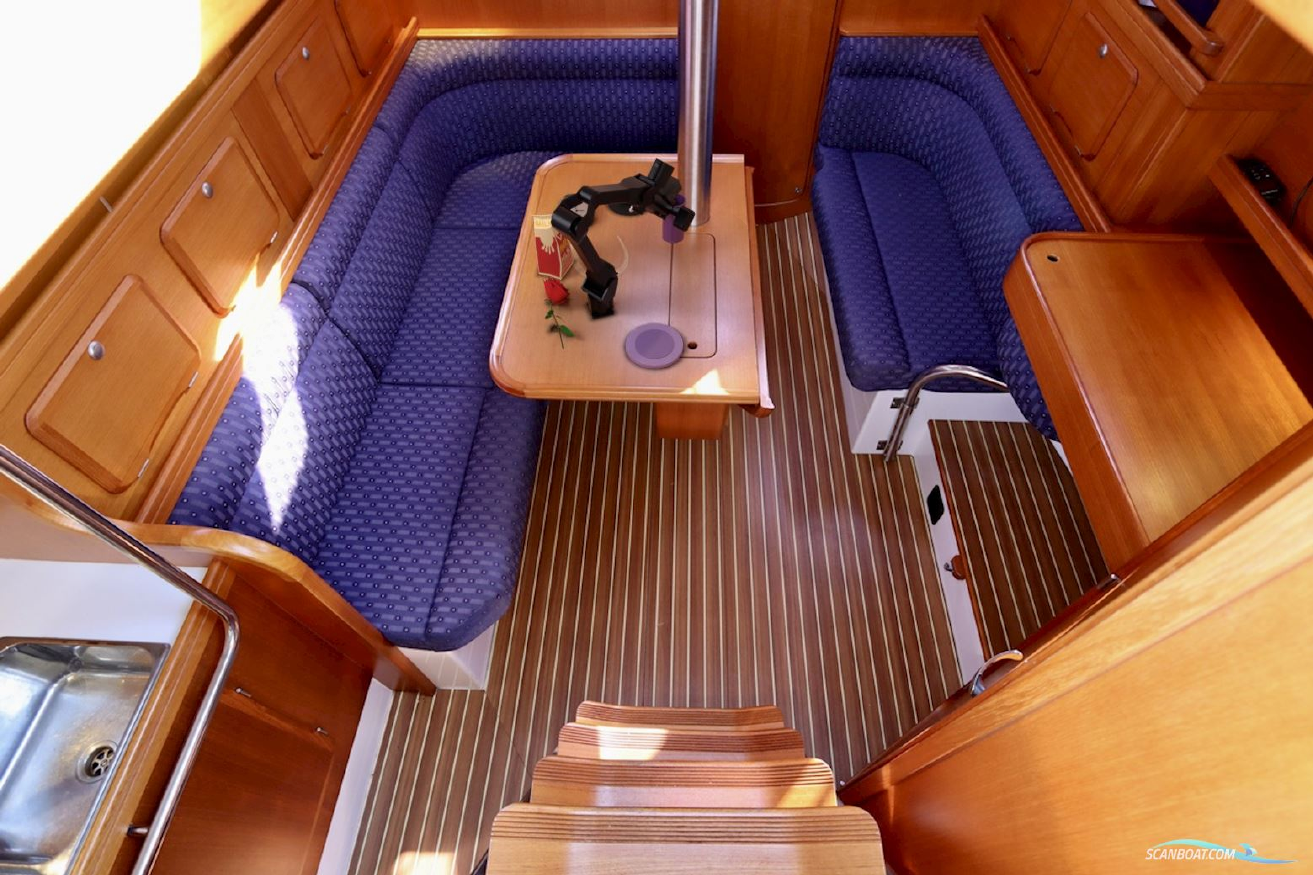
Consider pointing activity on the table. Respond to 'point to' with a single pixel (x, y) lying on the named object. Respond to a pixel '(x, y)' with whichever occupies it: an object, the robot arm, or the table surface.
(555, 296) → the flower
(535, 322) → the table surface
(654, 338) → the plate
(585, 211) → the alarm clock
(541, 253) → the milk carton
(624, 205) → the black dish
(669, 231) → the tumbler
